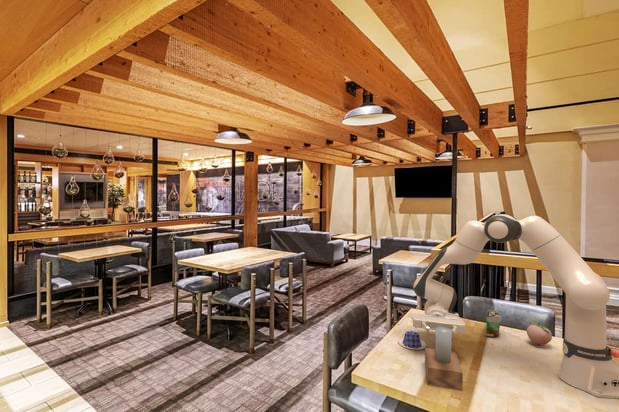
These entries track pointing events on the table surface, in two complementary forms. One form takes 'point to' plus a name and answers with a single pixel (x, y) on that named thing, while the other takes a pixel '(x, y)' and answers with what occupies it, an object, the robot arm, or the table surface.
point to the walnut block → (443, 371)
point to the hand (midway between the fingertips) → (440, 331)
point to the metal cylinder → (443, 344)
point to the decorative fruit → (539, 334)
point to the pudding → (412, 340)
